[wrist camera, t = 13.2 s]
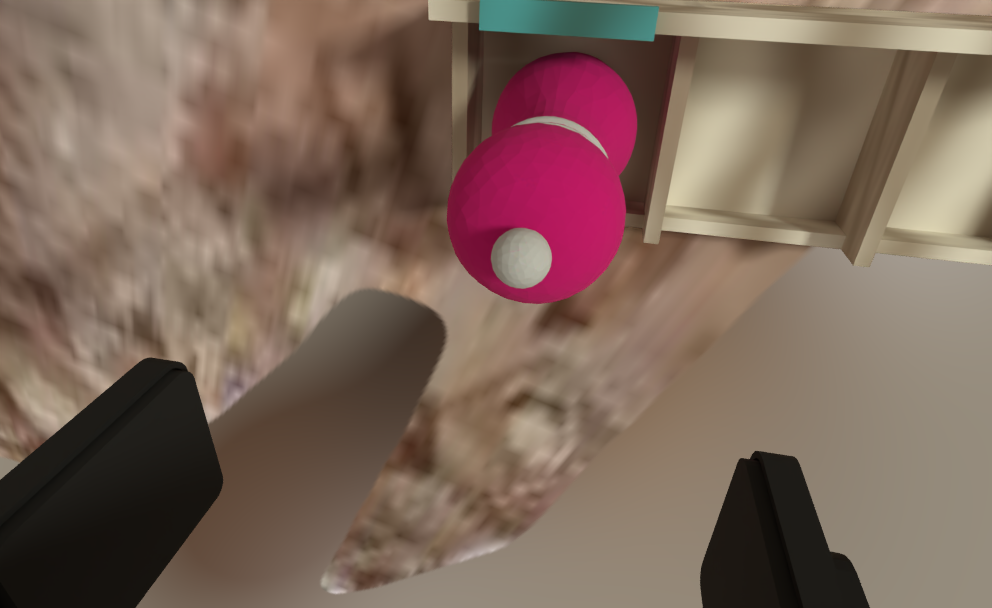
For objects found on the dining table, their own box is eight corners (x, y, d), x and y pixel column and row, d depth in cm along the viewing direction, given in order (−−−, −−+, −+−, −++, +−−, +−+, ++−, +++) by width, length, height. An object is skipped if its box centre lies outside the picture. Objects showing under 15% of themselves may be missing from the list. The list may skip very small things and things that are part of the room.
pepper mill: (577, 196, 36) (538, 413, 19) (482, 121, 34) (349, 281, 18) (663, 99, 32) (709, 261, 15) (561, 11, 31) (487, 80, 14)
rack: (470, 192, 38) (429, 256, 30) (473, -17, 32) (423, -7, 24) (1043, 251, 33) (1175, 344, 25) (1176, 21, 27) (1405, 49, 19)
